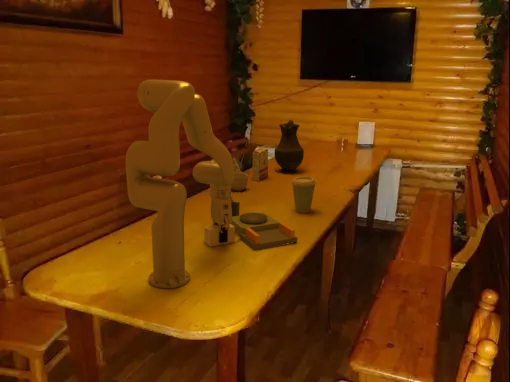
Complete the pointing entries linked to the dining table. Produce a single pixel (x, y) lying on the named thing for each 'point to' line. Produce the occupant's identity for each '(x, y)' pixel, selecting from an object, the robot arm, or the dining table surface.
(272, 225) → the tray with orange tabs
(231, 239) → the pale beige box
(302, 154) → the pitcher
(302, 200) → the disposable coffee cup
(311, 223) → the dining table surface
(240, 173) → the teacup
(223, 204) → the robot arm
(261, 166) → the candy bar box
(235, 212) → the flask
